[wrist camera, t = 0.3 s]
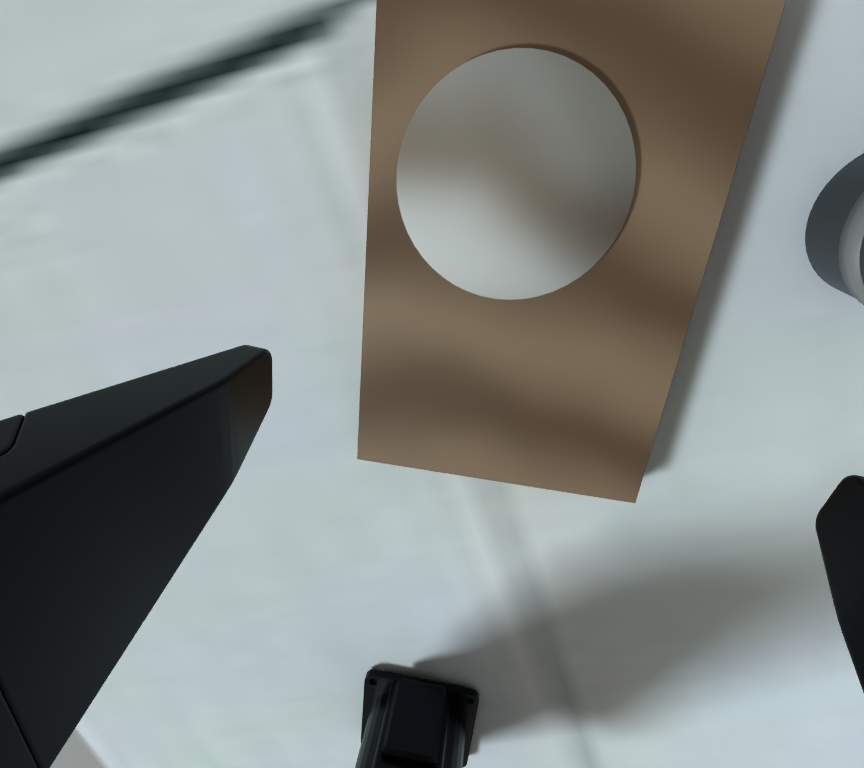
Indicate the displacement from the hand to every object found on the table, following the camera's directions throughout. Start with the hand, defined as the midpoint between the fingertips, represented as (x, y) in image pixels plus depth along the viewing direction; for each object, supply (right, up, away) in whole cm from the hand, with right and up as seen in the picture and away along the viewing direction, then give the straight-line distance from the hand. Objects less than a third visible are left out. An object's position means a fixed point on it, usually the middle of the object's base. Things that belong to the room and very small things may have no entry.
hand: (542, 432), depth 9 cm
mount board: (+2, +5, +13) cm, 14 cm away
